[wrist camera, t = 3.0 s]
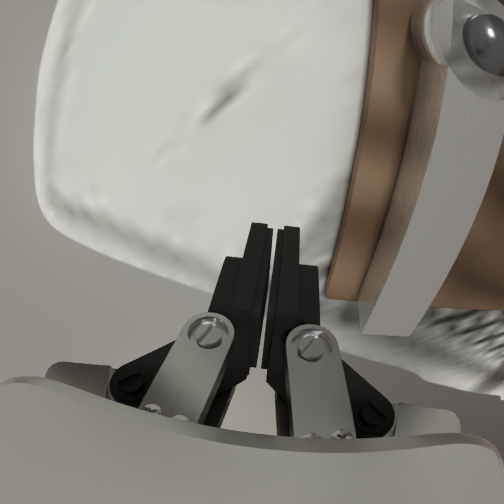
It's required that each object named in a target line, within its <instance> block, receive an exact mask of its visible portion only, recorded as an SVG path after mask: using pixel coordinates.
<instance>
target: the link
mask: <svg viewBox="0 0 504 504" xmlns="http://www.w3.org/2000/svg"><path fill="white" fill-rule="evenodd" d="M410 31H411V38H412V42H413V45H414V48H415V51H416V53H417V55H418V57H419V58H420V60H421V62H420V70H419V77H418V84H417V90H416V96H415V102H414V108H413V113H412V119H411V124H410V128H409V133H408V138H407V142H406V147H405V151H404V155H403V160H402V164H401V168H400V171H399V175H398V179H397V183H396V187H395V190H394V194H393V197H392V201H391V204H390V207H389V211H388V214H387V217H386V220H385V224H384V227H383V230H382V233H381V236H380V239H379V242H378V245H377V248H376V251H375V254H374V256H373V259H372V262H371V265H370V267H369V270H368V273H367V276H366V278H365V281H364V283H363V286H362V289H361V291H360V294H359V296H358V299H357V301H358V310H359V318H360V328H361V334H371V335H389V336H410V335H411V334H412V332H413V331H414V329H415V328H416V326H417V325H418V323H419V322H420V320H421V319H422V317H423V316H424V314H425V312H426V311H427V309H428V308H429V306H430V304H431V303H432V301H433V299H434V298H435V296H436V294H437V293H438V291H439V289H440V287H441V286H442V284H443V282H444V280H445V279H446V277H447V275H448V273H449V271H450V269H451V268H452V266H453V264H454V262H455V260H456V258H457V256H458V254H459V252H460V250H461V248H462V246H463V244H464V242H465V240H466V237H467V235H468V233H469V231H470V229H471V226H472V224H473V222H474V220H475V217H476V215H477V212H478V210H479V208H480V205H481V203H482V200H483V197H484V195H485V192H486V190H487V187H488V184H489V181H490V178H491V175H492V172H493V169H494V166H495V163H496V160H497V157H498V153H499V150H500V147H501V143H502V139H503V135H504V6H503V5H502V4H501V3H500V2H499V1H497V0H422V1H421V2H420V3H419V4H418V5H417V6H416V8H415V9H414V12H413V14H412V17H411V23H410Z"/></svg>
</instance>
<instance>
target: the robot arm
mask: <svg viewBox="0 0 504 504" xmlns="http://www.w3.org/2000/svg"><path fill="white" fill-rule="evenodd" d="M267 226H268V225H267V224H263V223H253V222H252V224H251V228H250V232H249V236H248V240H247V244H246V247H245V251H244V255H243V258H237V257H228V256H227V257H226V258H225V260H224V263H223V266H222V270H221V273H220V276H219V279H218V282H217V285H216V288H215V291H214V294H213V298H212V301H211V304H210V307H209V310H208V312H207V313H201V314H198V315H195V316H193V317H192V318H191V319H189V320H188V321H187V323H186V324H185V325H184V327H183V329H182V330H181V332H180V334H179V336H178V337H177V339H176V340H175V341H173V342H171V343H169V344H167V345H165V346H163V347H161V348H159V349H157V350H154V351H152V352H150V353H148V354H146V355H144V356H142V357H140V358H138V359H136V360H133V361H131V362H129V363H127V364H125V365H123V366H121V367H120V368H118V369H113V368H112V367H111V366H107V365H93V364H82V363H72V362H57V363H55V364H53V365H52V366H51V367H50V368H49V369H48V371H47V373H46V375H45V378H43V377H36V376H19V377H13V378H9V379H7V380H5V381H3V382H2V383H1V384H0V504H504V467H503V463H502V459H501V456H500V454H499V452H498V450H497V449H496V447H495V446H494V445H493V444H491V443H490V442H488V441H486V440H485V439H482V438H480V437H477V436H474V435H469V434H464V433H461V427H460V421H459V419H458V417H457V416H456V415H455V414H454V413H453V412H450V411H447V410H442V409H435V408H428V407H422V406H415V405H410V404H405V403H399V404H398V405H395V404H391V403H390V402H389V401H388V400H387V399H386V398H385V397H384V396H383V395H382V394H381V393H380V392H378V391H377V390H376V389H375V388H374V387H373V386H371V385H370V384H369V383H368V382H367V381H366V380H364V378H362V377H361V376H360V375H359V374H358V373H357V372H356V371H354V370H353V369H352V368H351V367H350V366H349V365H348V364H346V363H345V362H344V361H343V360H342V359H341V356H340V352H339V347H338V343H337V341H336V338H335V337H334V335H333V334H332V333H331V332H330V331H329V330H327V329H326V328H324V327H321V326H320V304H319V277H318V267H317V266H310V265H301V264H299V245H300V227H291V226H284V230H281V229H278V233H277V241H276V249H275V257H274V265H273V273H272V281H271V288H270V296H269V304H268V311H267V320H266V330H265V339H264V348H263V357H262V366H261V368H263V369H267V377H266V378H267V380H266V382H267V383H268V384H269V385H270V386H271V387H272V388H273V389H274V390H275V405H276V425H277V436H273V435H264V434H255V433H247V432H240V431H233V430H227V429H221V428H220V427H221V425H222V422H223V419H224V417H225V414H226V412H227V409H228V406H229V404H230V401H231V399H232V396H233V394H234V391H235V387H236V385H237V384H239V383H240V382H242V381H244V380H245V379H246V378H247V375H249V370H250V367H255V368H256V365H257V359H258V352H259V346H260V339H261V332H262V325H263V319H264V312H265V305H266V298H267V291H268V281H269V270H270V259H271V248H272V236H273V229H272V228H267Z"/></svg>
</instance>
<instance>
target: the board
mask: <svg viewBox="0 0 504 504" xmlns="http://www.w3.org/2000/svg"><path fill="white" fill-rule="evenodd" d="M421 1H422V0H373V19H372V33H371V45H370V56H369V66H368V75H367V83H366V91H365V99H364V106H363V113H362V119H361V126H360V132H359V138H358V144H357V149H356V155H355V160H354V166H353V171H352V176H351V181H350V186H349V191H348V196H347V200H346V205H345V209H344V214H343V218H342V223H341V227H340V231H339V235H338V239H337V243H336V247H335V251H334V255H333V259H332V263H331V267H330V271H329V274H328V278H327V282H326V285H325V291H326V298H331V299H341V300H352V301H357V299H358V296H359V294H360V291H361V289H362V286H363V283H364V281H365V278H366V276H367V273H368V270H369V267H370V265H371V262H372V259H373V256H374V254H375V251H376V248H377V245H378V242H379V239H380V236H381V233H382V230H383V227H384V224H385V220H386V217H387V214H388V211H389V207H390V204H391V201H392V197H393V194H394V190H395V187H396V183H397V179H398V175H399V171H400V168H401V164H402V160H403V155H404V151H405V147H406V142H407V138H408V133H409V128H410V124H411V119H412V113H413V108H414V102H415V96H416V90H417V84H418V77H419V70H420V62H421V60H420V58H419V57H418V55H417V53H416V51H415V48H414V45H413V42H412V38H411V31H410V23H411V17H412V14H413V12H414V9H415V8H416V6H417V5H418V4H419V3H420V2H421ZM497 1H498V0H497ZM499 2H500V1H499ZM500 3H501V2H500ZM501 4H502V5H503V6H504V4H503V3H501ZM429 307H441V308H458V309H479V310H504V135H503V139H502V143H501V147H500V150H499V153H498V157H497V160H496V163H495V166H494V169H493V172H492V175H491V178H490V181H489V184H488V187H487V190H486V192H485V195H484V197H483V200H482V203H481V205H480V208H479V210H478V212H477V215H476V217H475V220H474V222H473V224H472V226H471V229H470V231H469V233H468V235H467V237H466V240H465V242H464V244H463V246H462V248H461V250H460V252H459V254H458V256H457V258H456V260H455V262H454V264H453V266H452V268H451V269H450V271H449V273H448V275H447V277H446V279H445V280H444V282H443V284H442V286H441V287H440V289H439V291H438V293H437V294H436V296H435V298H434V299H433V301H432V303H431V304H430V306H429Z"/></svg>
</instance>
